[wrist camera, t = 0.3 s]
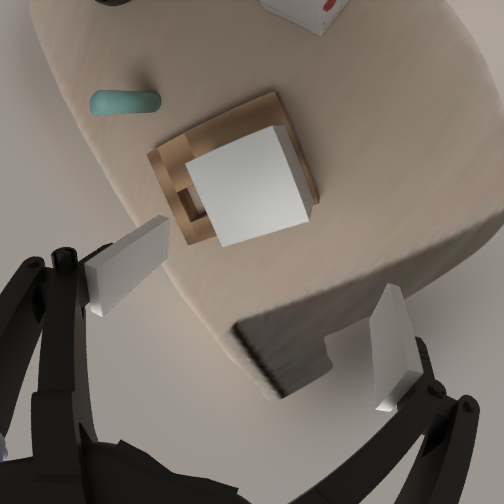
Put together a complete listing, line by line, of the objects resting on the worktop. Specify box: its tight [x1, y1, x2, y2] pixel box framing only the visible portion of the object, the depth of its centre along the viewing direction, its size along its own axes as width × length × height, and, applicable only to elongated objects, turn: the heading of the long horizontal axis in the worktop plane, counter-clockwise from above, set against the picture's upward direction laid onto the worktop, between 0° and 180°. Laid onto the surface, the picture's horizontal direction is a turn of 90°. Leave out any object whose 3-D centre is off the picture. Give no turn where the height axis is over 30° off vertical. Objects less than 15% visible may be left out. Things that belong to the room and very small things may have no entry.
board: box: [147, 91, 320, 245], centre depth 36 cm, size 15×20×8 cm
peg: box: [90, 90, 161, 116], centre depth 33 cm, size 3×3×12 cm
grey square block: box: [185, 125, 314, 247], centre depth 32 cm, size 10×10×8 cm
